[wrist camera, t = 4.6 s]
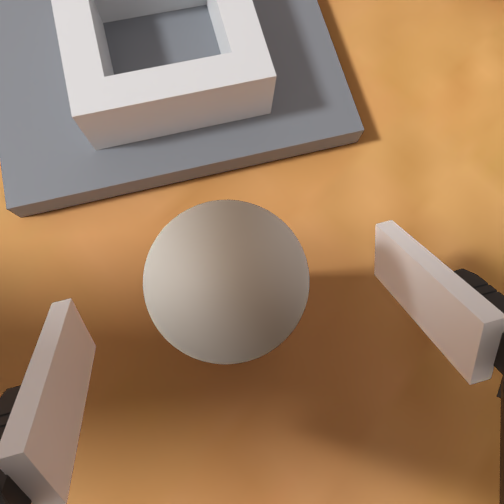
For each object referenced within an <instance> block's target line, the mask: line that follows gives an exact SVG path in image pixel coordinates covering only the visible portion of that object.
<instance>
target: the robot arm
mask: <svg viewBox="0 0 504 504" xmlns="http://www.w3.org/2000/svg"><path fill="white" fill-rule="evenodd" d="M374 275H375V276H376V277H377V278H378V279H379V281H380V282H381V283H382V284H383V285H384V286H385V288H386V289H387V290H388V291H389V292H390V293H391V295H392V296H393V297H394V298H395V299H396V300H397V301H398V303H399V304H400V305H401V306H402V307H403V308H404V310H405V311H406V312H407V313H408V314H409V315H410V316H411V318H412V319H413V320H414V321H415V322H416V323H417V325H418V326H419V327H420V328H421V329H422V330H423V331H424V333H425V334H426V335H427V336H428V337H429V338H430V340H431V341H432V342H433V343H434V344H435V345H436V346H437V348H438V349H439V350H440V351H441V352H442V353H443V355H444V356H445V357H446V358H447V359H448V360H449V361H450V363H451V364H452V365H453V366H454V367H455V368H456V370H457V371H458V372H459V373H460V374H461V375H462V376H463V378H464V379H465V380H466V381H467V382H468V383H469V385H471V384H475V383H478V382H481V381H485V380H488V379H491V376H492V373H493V369H494V366H495V367H496V368H497V369H498V370H499V371H500V372H501V373H502V374H503V377H502V380H501V384H500V387H499V390H498V394H497V397H500V398H501V433H500V504H504V296H503V295H502V294H501V293H500V292H497V290H496V289H494V288H493V287H492V286H491V285H488V283H487V282H486V281H484V280H483V279H482V278H480V277H479V276H478V275H476V274H474V273H472V272H469V271H467V270H465V269H459V270H456V271H452V270H451V269H450V268H449V267H447V266H446V265H445V264H444V263H443V262H442V261H440V260H439V259H438V258H437V257H436V256H434V255H433V254H432V253H431V252H430V251H428V250H427V249H426V248H425V247H424V246H422V245H421V244H420V243H419V242H418V241H416V240H415V239H414V238H413V237H412V236H410V235H409V234H408V233H407V232H406V231H404V230H403V229H402V228H401V227H400V226H398V225H397V224H396V223H395V222H394V221H392V220H390V221H386V222H382V223H378V224H376V231H375V269H374ZM95 350H96V345H95V343H94V341H93V339H92V337H91V335H90V333H89V332H88V330H87V328H86V326H85V324H84V322H83V320H82V318H81V316H80V314H79V312H78V310H77V308H76V306H75V304H74V302H73V300H72V299H71V298H70V299H66V300H62V301H58V302H54V303H52V304H51V307H50V310H49V312H48V315H47V318H46V320H45V323H44V326H43V328H42V331H41V334H40V336H39V339H38V342H37V344H36V347H35V350H34V352H33V355H32V358H31V360H30V363H29V366H28V368H27V371H26V374H25V376H24V379H23V382H22V384H21V386H17V387H13V388H9V389H7V390H6V391H5V392H4V393H3V395H2V396H1V397H0V504H31V503H32V504H67V499H68V494H69V488H70V483H71V478H72V472H73V467H74V462H75V456H76V451H77V446H78V440H79V435H80V430H81V424H82V419H83V414H84V408H85V403H86V398H87V392H88V387H89V382H90V376H91V371H92V366H93V360H94V355H95Z"/></svg>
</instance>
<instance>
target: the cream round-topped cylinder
mask: <svg viewBox="0 0 504 504" xmlns="http://www.w3.org/2000/svg"><path fill="white" fill-rule="evenodd" d="M309 280H310V278H309V268H308V264H307V260H306V256H305V254H304V251H303V248H302V246H301V244H300V243H299V241H298V239H297V237H296V236H295V235H294V233H293V232H292V230H291V229H290V228H289V227H288V226H287V225H286V224H285V223H284V222H283V221H282V220H281V219H279V218H278V217H277V216H276V215H274V214H273V213H271V212H270V211H268V210H266V209H264V208H262V207H260V206H257V205H254V204H251V203H248V202H243V201H237V200H216V201H210V202H206V203H203V204H199V205H196V206H194V207H192V208H190V209H188V210H186V211H184V212H183V213H181V214H179V215H178V216H177V217H175V218H174V219H173V220H171V221H170V222H169V223H168V224H167V225H166V226H165V227H164V228H163V230H162V231H161V232H160V233H159V235H158V236H157V238H156V239H155V241H154V243H153V244H152V246H151V248H150V251H149V253H148V256H147V259H146V263H145V266H144V274H143V292H144V299H145V303H146V306H147V310H148V312H149V314H150V317H151V319H152V321H153V323H154V324H155V326H156V328H157V329H158V331H159V332H160V333H161V334H162V335H163V337H164V338H165V339H166V340H167V341H168V342H169V343H170V344H171V345H173V346H174V347H175V348H177V349H178V350H180V351H181V352H183V353H184V354H186V355H188V356H190V357H192V358H195V359H198V360H201V361H204V362H209V363H213V364H238V363H242V362H247V361H251V360H253V359H256V358H259V357H261V356H263V355H265V354H267V353H269V352H270V351H272V350H273V349H275V348H276V347H278V346H279V345H280V344H281V343H282V342H283V341H284V340H285V339H286V338H287V337H288V336H289V335H290V334H291V333H292V331H293V330H294V329H295V327H296V325H297V324H298V322H299V321H300V319H301V316H302V314H303V312H304V310H305V306H306V303H307V300H308V294H309Z"/></svg>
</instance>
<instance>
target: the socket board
mask: <svg viewBox="0 0 504 504" xmlns="http://www.w3.org/2000/svg"><path fill="white" fill-rule="evenodd" d="M363 132H364V127H363V125H362V122H361V119H360V116H359V114H358V111H357V108H356V105H355V103H354V100H353V97H352V95H351V92H350V89H349V86H348V84H347V81H346V78H345V75H344V73H343V70H342V67H341V65H340V62H339V59H338V56H337V54H336V51H335V48H334V45H333V43H332V40H331V37H330V34H329V32H328V29H327V26H326V24H325V21H324V18H323V15H322V13H321V10H320V7H319V4H318V2H317V0H0V162H1V170H2V178H3V185H4V193H5V201H6V208H7V210H9V211H11V212H12V213H14V214H16V215H17V216H19V217H25V216H30V215H34V214H38V213H43V212H47V211H52V210H56V209H61V208H65V207H70V206H74V205H79V204H83V203H88V202H92V201H96V200H101V199H105V198H110V197H114V196H119V195H123V194H128V193H132V192H137V191H141V190H146V189H150V188H154V187H159V186H163V185H168V184H172V183H177V182H181V181H186V180H190V179H195V178H199V177H203V176H208V175H212V174H217V173H221V172H226V171H230V170H235V169H239V168H244V167H248V166H253V165H257V164H261V163H266V162H270V161H275V160H279V159H284V158H288V157H293V156H297V155H302V154H306V153H310V152H315V151H319V150H324V149H328V148H333V147H337V146H342V145H346V144H351V143H355V142H357V141H358V140H359V138H360V136H361V135H362V133H363Z"/></svg>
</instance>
